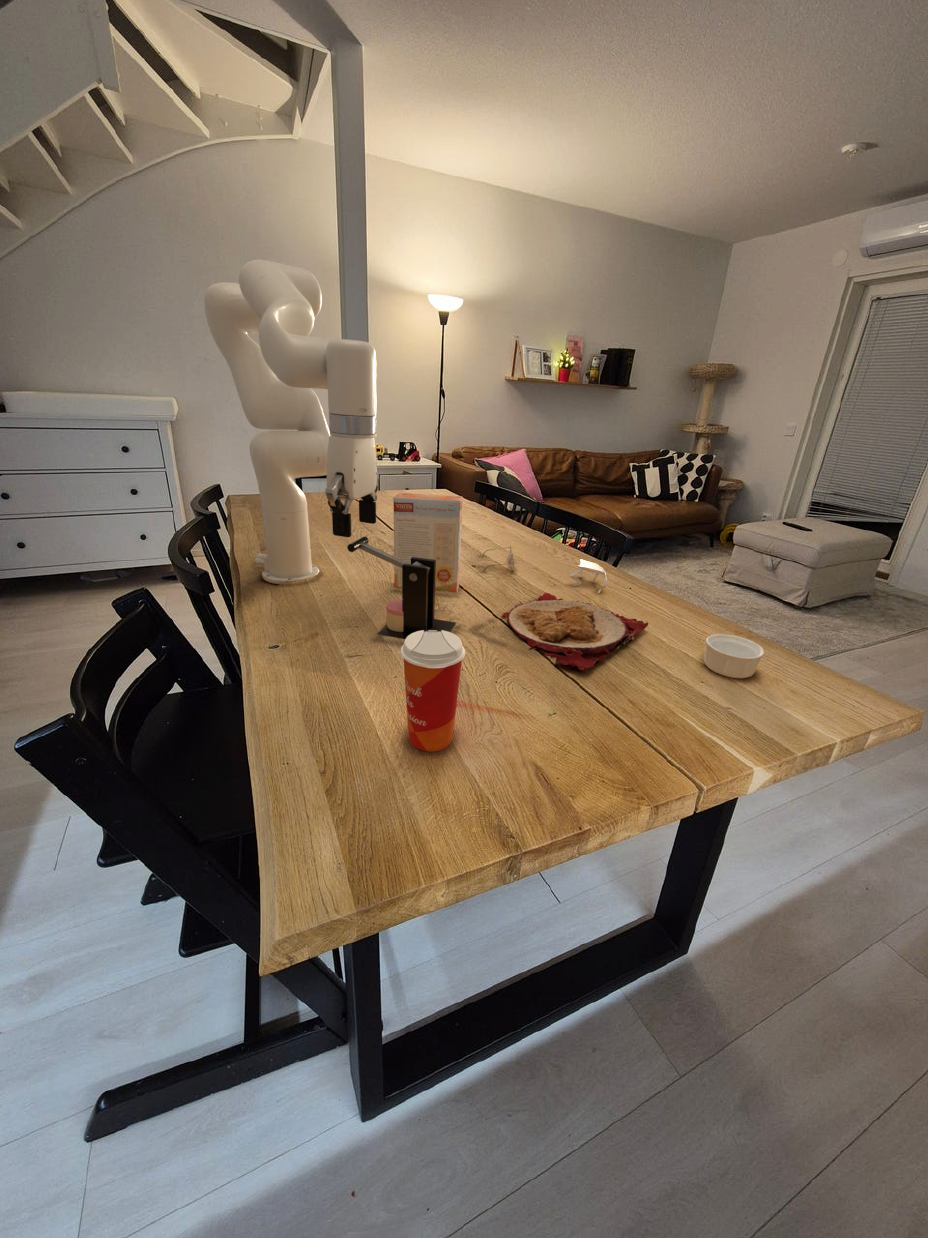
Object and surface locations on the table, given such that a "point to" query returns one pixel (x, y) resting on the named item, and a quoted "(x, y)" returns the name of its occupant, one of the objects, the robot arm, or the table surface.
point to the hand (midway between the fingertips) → (355, 528)
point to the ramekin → (732, 655)
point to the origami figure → (589, 567)
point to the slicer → (418, 600)
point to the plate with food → (572, 629)
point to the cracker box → (429, 535)
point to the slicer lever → (377, 552)
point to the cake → (395, 615)
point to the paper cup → (431, 686)
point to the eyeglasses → (508, 556)
